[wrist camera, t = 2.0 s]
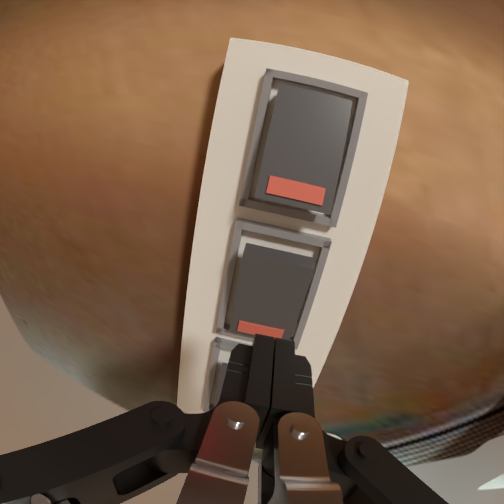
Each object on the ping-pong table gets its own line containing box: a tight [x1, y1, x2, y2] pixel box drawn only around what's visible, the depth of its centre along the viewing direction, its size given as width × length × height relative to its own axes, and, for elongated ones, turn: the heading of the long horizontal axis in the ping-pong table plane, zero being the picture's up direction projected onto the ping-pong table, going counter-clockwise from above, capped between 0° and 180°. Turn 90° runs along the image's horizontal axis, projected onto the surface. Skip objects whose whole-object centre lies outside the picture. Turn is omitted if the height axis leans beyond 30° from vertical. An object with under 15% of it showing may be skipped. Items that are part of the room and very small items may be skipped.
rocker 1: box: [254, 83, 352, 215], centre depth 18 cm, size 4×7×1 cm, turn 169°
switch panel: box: [177, 38, 409, 414], centre depth 24 cm, size 12×33×4 cm, turn 169°
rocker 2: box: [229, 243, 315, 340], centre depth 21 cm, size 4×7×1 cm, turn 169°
